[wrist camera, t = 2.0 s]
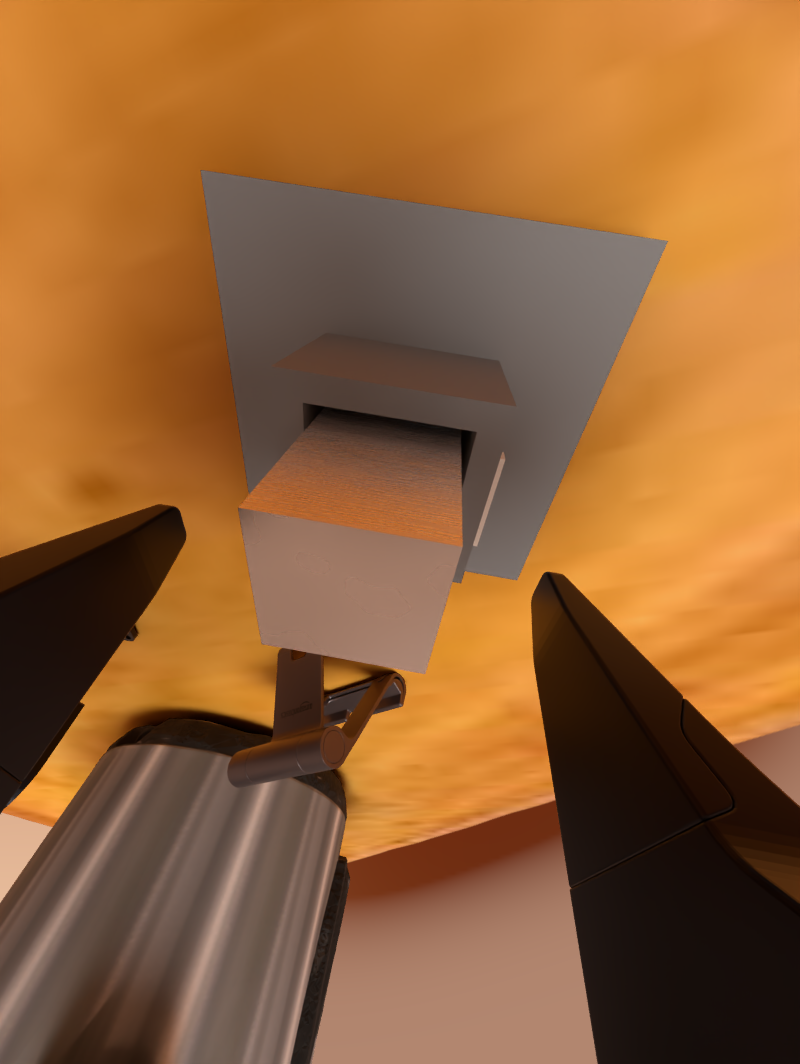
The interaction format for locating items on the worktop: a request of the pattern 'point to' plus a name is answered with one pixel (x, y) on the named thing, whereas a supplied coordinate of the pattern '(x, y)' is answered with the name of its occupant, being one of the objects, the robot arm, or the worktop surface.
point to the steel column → (357, 539)
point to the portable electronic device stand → (312, 722)
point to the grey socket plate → (424, 334)
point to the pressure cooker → (176, 911)
